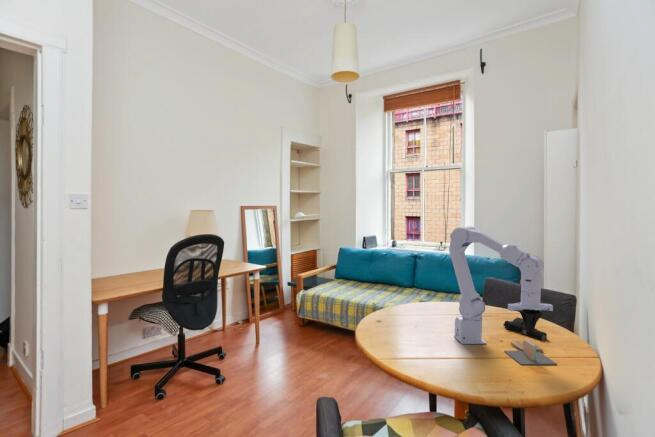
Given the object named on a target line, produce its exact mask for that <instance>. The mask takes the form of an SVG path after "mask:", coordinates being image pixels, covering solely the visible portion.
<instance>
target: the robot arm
mask: <svg viewBox="0 0 655 437" xmlns="http://www.w3.org/2000/svg"><path fill="white" fill-rule="evenodd" d="M449 237H450V243H449V246H448V251H449V255H450V259H451V263H452V266H453V269H454V274H455V276H456V281H457V284H458V288H459V291H460V295H459V298H458V302H459V306H458V310H459V314H460V315H461V316H457V317H456V318H454V334H453V337H454V338H455V339H456V340H457V341H458V342H460V344H462V345H472V344H473V345H477V344H478V345H480V344H484V345H486V344H487V342H486V341H485V340H484V339H483V314H484V313H485V311H486V305H485V302H484V301H483V299H482V298H481V295H480V293H478V292H477V291H476V288H475V285H474V281H473V279H472V278H473V277H472V275H471V271H470V267H469V265H468V260H467V256H466V252H465V251H466V250H467V249H468V247H469V245H471V244H473V243H477V244H478V243H480V244H481V245H483V246H485V247H487V248H489V249H491V250H493V251H494V252H497V253H499V257H500V258H501V259H503V260H504V261H506V262H508V263H509V264H511V265H513V266H515V267H516V268H518V269H519V271H520V272H521V285H520V286H521V287H520V288H521V289H520V302H515V303H508V304H507V310H508V311H510V312H515V311H518V312H519V314H520V316H521V317H522V319H523V320H524V324H525V328H526V330H527V331H528V332H533V331H534V328H535V327H536V325H537V323H538V322H539V320H540V318H541V317H542V315H543V312H542V311H549V312H553V311H554V304H550V303H543V302H541V298H542V296H541V292H542V290H541V289H542V272H541V271H543V269H544V266H545V264H544V261H543V259H541V257H539V256H537V255H531V253H530V252H525V251H524V250H522V249H520V248H518V245H516V244H511V243H509V244H503V243H502V242H500V241H498V240H496V239H494V237H492V236H490V235H488V234H487V233H485V232H483V231H482V230H480V229H477V228H475V226H466V227H465V226H464V227H463V226H462V227H461V226H460V227H455V228H454V229H453V230H452V232H451V233H450V235H449ZM535 329H536V328H535Z"/></svg>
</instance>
